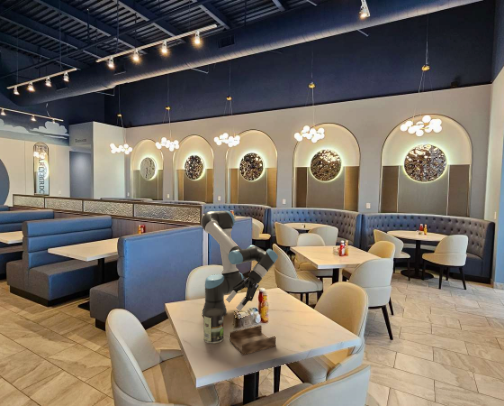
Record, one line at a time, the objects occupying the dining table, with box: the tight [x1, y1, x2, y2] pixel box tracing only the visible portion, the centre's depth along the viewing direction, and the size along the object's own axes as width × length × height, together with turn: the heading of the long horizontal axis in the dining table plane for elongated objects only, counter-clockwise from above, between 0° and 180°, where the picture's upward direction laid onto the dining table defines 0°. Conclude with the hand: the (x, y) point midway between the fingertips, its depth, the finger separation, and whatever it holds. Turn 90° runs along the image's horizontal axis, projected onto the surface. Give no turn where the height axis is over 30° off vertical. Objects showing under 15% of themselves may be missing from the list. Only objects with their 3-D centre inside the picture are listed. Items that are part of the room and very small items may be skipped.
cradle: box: [229, 324, 277, 356], centre depth 149 cm, size 18×15×4 cm
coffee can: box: [203, 308, 225, 344], centre depth 153 cm, size 10×10×14 cm
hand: (232, 305), depth 158 cm, fingers open, 13 cm apart
